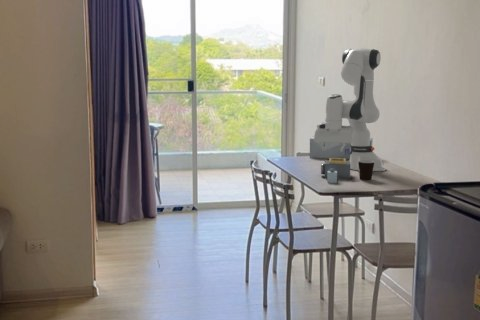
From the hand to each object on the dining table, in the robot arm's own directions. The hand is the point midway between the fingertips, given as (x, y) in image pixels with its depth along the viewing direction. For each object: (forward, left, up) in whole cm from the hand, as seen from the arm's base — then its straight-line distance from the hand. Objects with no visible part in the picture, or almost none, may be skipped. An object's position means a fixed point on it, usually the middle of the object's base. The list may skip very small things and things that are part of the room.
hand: (332, 151), depth 311 cm
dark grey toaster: (-3, -15, -17) cm, 23 cm away
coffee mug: (-19, -10, -17) cm, 27 cm away
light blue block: (0, 0, -17) cm, 17 cm away
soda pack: (-7, -79, -17) cm, 81 cm away
